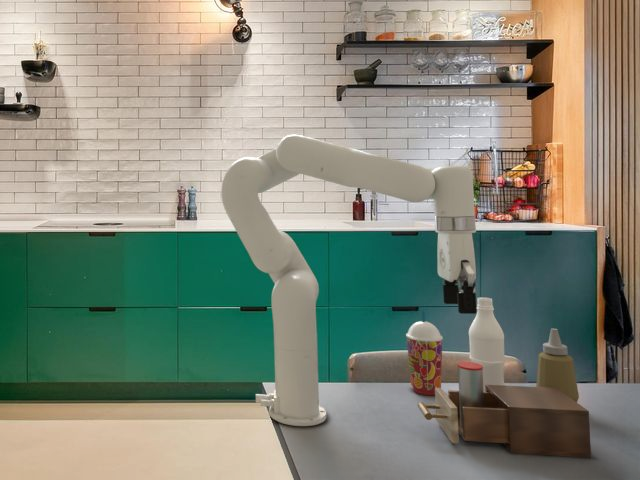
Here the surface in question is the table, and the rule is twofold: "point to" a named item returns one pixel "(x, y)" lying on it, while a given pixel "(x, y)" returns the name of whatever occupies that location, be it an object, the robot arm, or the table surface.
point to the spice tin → (470, 386)
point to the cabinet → (544, 421)
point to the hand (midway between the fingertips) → (459, 308)
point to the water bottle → (487, 343)
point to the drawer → (469, 418)
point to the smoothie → (424, 356)
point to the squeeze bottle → (557, 367)
